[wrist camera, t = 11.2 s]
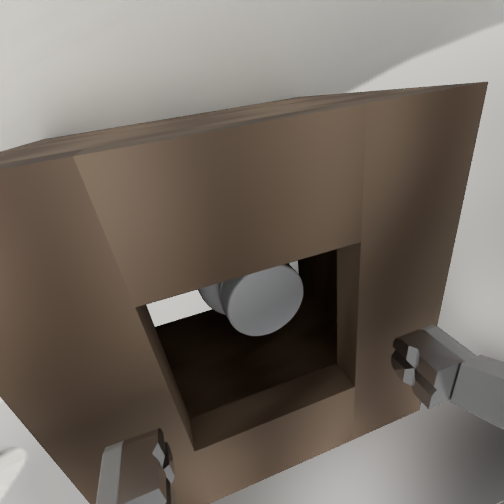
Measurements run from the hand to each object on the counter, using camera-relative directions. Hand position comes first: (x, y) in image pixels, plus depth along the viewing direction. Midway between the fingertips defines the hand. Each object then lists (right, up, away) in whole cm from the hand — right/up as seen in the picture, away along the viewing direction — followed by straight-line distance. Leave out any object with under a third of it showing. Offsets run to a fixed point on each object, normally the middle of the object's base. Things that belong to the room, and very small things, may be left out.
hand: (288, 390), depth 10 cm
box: (-4, +6, +13) cm, 15 cm away
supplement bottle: (-4, +6, +13) cm, 15 cm away
